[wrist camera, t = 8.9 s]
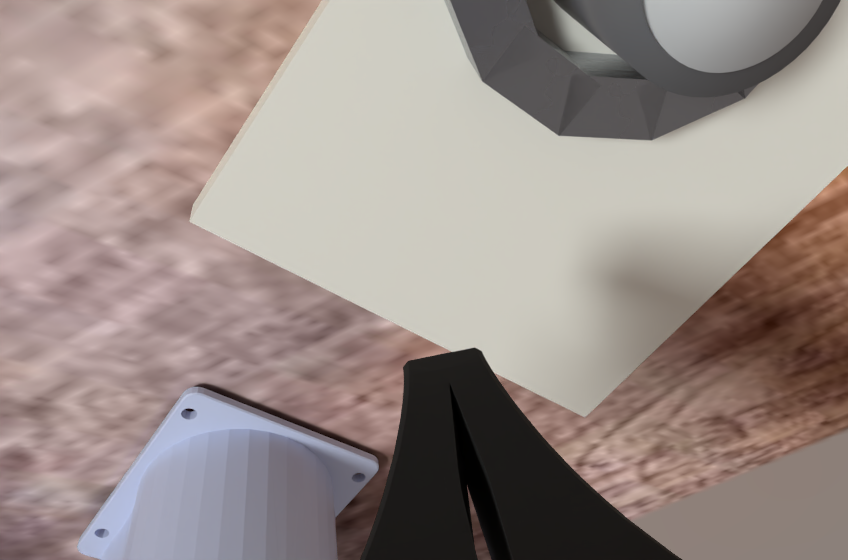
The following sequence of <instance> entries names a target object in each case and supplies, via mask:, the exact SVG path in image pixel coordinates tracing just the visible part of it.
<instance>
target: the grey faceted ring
mask: <svg viewBox="0 0 848 560" xmlns="http://www.w3.org/2000/svg"><path fill="white" fill-rule="evenodd" d="M444 1H445V3H446V6H447V8H448V11H449V13H450V16H451V18H452V21H453V23H454V26H455V28H456V31H457V33H458V36H459V38H460V41H461V43H462V46H463V48H464V50H465V53H466V56H467V58H468V59H469V61H470V62H471V64H472V66H473V67H474V69H475V71H476V72H477V74H478V76H479V77H480V79H481V80H482V82H484V83H485V84H486V85H488V86H489V87H491V88H492V89H493V90H495V91H496V92H498V93H499V94H501V95H502V96H503V97H505V98H506V99H508V100H509V101H510V102H512V103H513V104H515V105H516V106H517V107H519V108H520V109H522V110H523V111H524V112H526V113H527V114H529V115H530V116H532V117H533V118H534V119H536V120H537V121H539V122H540V123H541V124H543V125H544V126H546V127H547V128H548V129H550V130H551V131H553V132H554V133H555V134H557V135H558V136H572V137H592V138H612V139H632V140H651V141H652V140H654V139H656V138H658V137H660V136H663V135H665V134H667V133H669V132H672V131H674V130H676V129H678V128H680V127H683V126H685V125H687V124H689V123H691V122H694V121H696V120H698V119H700V118H703V117H705V116H707V115H709V114H711V113H714V112H716V111H718V110H720V109H723V108H725V107H727V106H729V105H731V104H734V103H736V102H738V101H740V100H742V99H745V98H746V97H747V96H748V95H749V94H750V92H751V91H752V90H753V89H754V88H755V87H756V86H757V85H758V84H757V85H755V86H753V87H750V88H747V89H745V90H742V91H739V92H736V93H732V94H728V95H723V96H716V97H689V96H683V95H678V94H675V93H672V92H669V91H666V90H664V89H662V88H660V87H658V86H656V85H655V84H653V83H652V82H650V81H649V80H648V79H646V78H645V77H644V76H642V75H641V74H640V73H639V72H637V71H636V70H635V69H634V68H633V67H631V66H630V65H629V64H628V63H627V62H625V61H624V60H623V59H622V58H620V57H619V56H618V55H615V54H601V53H587V52H574V51H564V50H563V49H562V48H560V47H559V46H558V45H557V44H555V43H554V42H553V41H551V40H550V39H549V38H548V37H546V36H545V35H544V34H543V33H541V32H540V31H539V30H537V29H536V28H535V26H534V23H533V20H532V17H531V14H530V11H529V8H528V5H527V2H526V0H444Z"/></svg>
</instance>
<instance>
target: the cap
mask: <svg viewBox="0 0 848 560" xmlns="http://www.w3.org/2000/svg"><path fill="white" fill-rule="evenodd" d="M553 1H554V2H555V3H556V4H557V5H558V6H559V7H560V8H561V9H562V10H564V11H565V12H566V13H567V14H568V15H570V16H571V17H572V18H573V19H575V20H576V21H577V22H578V23H579V24H581V25H582V26H583V27H584V28H585V29H587V30H588V31H589V32H590V33H591V34H593V35H594V36H595V37H596V38H598V39H599V40H600V41H601V42H602V43H604V44H605V45H606V46H607V47H608V48H610V49H611V50H612V51H613V52H614V53H616V54H617V55H618V56H619V57H620V58H622V59H623V60H624V61H625V62H627V63H628V64H629V65H630V66H631V67H633V68H634V69H635V70H636V71H637V72H639V73H640V74H641V75H642V76H644V77H645V78H646V79H648V80H649V81H650V82H652V83H653V84H655V85H656V86H658V87H660V88H662V89H664V90H666V91H669V92H672V93H675V94H678V95H683V96H689V97H716V96H723V95H728V94H732V93H736V92H739V91H742V90H745V89H747V88H750V87H753V86H755V85H757V84H759V83H761V82H763V81H765V80H767V79H768V78H770V77H771V76H773V75H775V74H776V73H778V72H779V71H781V70H782V69H783V68H785V67H786V66H787V65H789V64H790V63H791V62H793V61H794V60H795V59H796V58H797V57H798V56H799V55H800V54H801V53H802V52H803V51H804V50H806V49H807V47H808V46H809V45H810V44H811V43H812V42H813V41H814V40H815V38H816V37H817V36H818V35H819V34H820V32H821V31H822V30H823V28H824V27H825V25H826V24H827V23H828V21H829V20H830V18H831V17H832V15H833V13H834V12H835V10H836V8H837V7H838V5H839V3H840V1H841V0H553Z"/></svg>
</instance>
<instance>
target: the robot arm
mask: <svg viewBox="0 0 848 560" xmlns="http://www.w3.org/2000/svg"><path fill="white" fill-rule="evenodd" d="M403 370H404V393H403V404H402V411H401V419H400V425H399V430H398V435H397V440H396V446H395V451H394V455H393V460H392V464H391V467H390V471H389V475H388V479H387V482H386V486H385V490H384V494H383V497H382V500H381V504H380V507H379V510H378V513H377V516H376V519H375V522H374V525H373V528H372V530H371V533H370V536H369V539H368V541H367V544H366V547H365V549H364V552H363V554H362V557H361V559H360V560H477V555H476V551H475V546H474V538H473V530H472V522H471V514H470V506H469V498H468V490H467V486H468V489H469V492H470V495H471V498H472V501H473V504H474V507H475V510H476V513H477V516H478V519H479V522H480V525H481V528H482V531H483V534H484V537H485V540H486V543H487V547H488V550H489V553H490V556H491V559H492V560H682V559H681V558H679V557H678V556H676V555H675V554H673V553H672V552H671V551H669V550H668V549H667V548H665V547H664V546H663V545H661V544H660V543H659V542H657V541H656V540H655V539H654V538H652V537H651V536H650V535H648V534H647V533H646V532H644V531H643V530H642V529H640V528H639V527H638V526H636V525H635V524H634V523H633V522H631V521H630V520H629V519H627V518H626V517H625V516H624V515H623V514H622V513H620V512H619V511H618V510H617V509H616V508H615V507H613V506H612V505H611V504H610V503H609V502H608V501H606V500H605V499H604V498H603V497H602V496H601V495H600V494H599V493H597V492H596V491H595V490H594V489H593V488H592V487H591V486H590V485H589V484H588V483H587V482H586V481H584V480H583V479H582V478H581V477H580V476H579V475H578V474H577V473H576V472H575V471H574V470H573V469H572V468H571V467H570V466H569V465H568V464H567V463H566V462H565V461H564V459H563V458H562V457H561V456H560V455H559V454H558V453H557V452H556V451H555V450H554V449H553V448H552V447H551V446H550V445H549V443H548V442H547V441H546V440H545V439H544V438H543V437H542V435H541V434H540V433H539V432H538V431H537V430H536V428H535V427H534V426H533V425H532V424H531V422H530V421H529V420H528V419H527V417H526V416H525V415H524V414H523V413H522V411H521V410H520V409H519V408H518V406H517V405H516V404H515V402H514V401H513V400H512V398H511V397H510V396H509V394H508V393H507V391H506V390H505V389H504V387H503V386H502V384H501V383H500V382H499V380H498V379H497V377H496V376H495V374H494V372H493V371H492V369H491V368H490V366H489V364H488V362H487V361H486V359H485V357H484V355H483V353H482V351H481V350H479V349H477V348H470V349H465V350H460V351H455V352H450V353H445V354H440V355H435V356H430V357H425V358H420V359H415V360H411V361H408V362H407V363H406V364H405V366H404V367H403ZM187 408H190V409H194V410H195V411H192V412H190V411H186V410H184V409H187ZM378 470H379V464H378V459H377V458H376V457H375V456H374V455H372V454H369V453H367V452H364V451H362V450H359V449H357V448H354V447H352V446H349V445H347V444H344V443H342V442H339V441H337V440H334V439H332V438H329V437H327V436H324V435H321V434H319V433H316V432H314V431H311V430H309V429H306V428H304V427H301V426H299V425H296V424H294V423H291V422H289V421H286V420H284V419H281V418H279V417H276V416H273V415H271V414H268V413H266V412H263V411H261V410H258V409H256V408H253V407H251V406H248V405H246V404H243V403H241V402H238V401H236V400H233V399H231V398H228V397H225V396H223V395H220V394H218V393H215V392H213V391H210V390H208V389H205V388H202V387H191V388H189V389H187V390H186V391H184V392H183V394H182V395H181V397H180V398H179V399H178V401H177V402H176V404H175V405H174V406H173V408H172V409H171V411H170V412H169V413H168V415H167V416H166V418H165V419H164V420H163V422H162V423H161V425H160V426H159V427H158V429H157V430H156V432H155V433H154V434H153V436H152V437H151V439H150V440H149V441H148V443H147V444H146V446H145V447H144V448H143V450H142V451H141V453H140V454H139V455H138V457H137V458H136V460H135V461H134V462H133V464H132V465H131V467H130V468H129V469H128V471H127V472H126V474H125V475H124V476H123V478H122V479H121V481H120V482H119V483H118V485H117V486H116V488H115V489H114V490H113V492H112V493H111V495H110V496H109V497H108V499H107V500H106V502H105V503H104V504H103V506H102V507H101V509H100V510H99V511H98V513H97V514H96V516H95V517H94V518H93V520H92V521H91V523H90V524H89V525H88V527H87V528H86V530H85V531H84V532H83V534H82V535H81V537H80V539H79V542H78V546H77V548H78V551H80V552H81V553H82V554H84V555H87V556H90V557H94V558H98V559H101V560H338V557H337V541H336V525H335V518H336V517H337V515H338V514H339V513H340V512H341V511H342V510H343V509H344V508H345V507H346V506H347V505H348V503H349V502H350V501H351V500H352V499H353V498H354V497H355V496H356V495H357V494H358V493H359V492H360V490H361V489H362V488H363V487H364V486H365V485H366V484H367V483H368V482H369V481H370V480H371V478H372V477H373V476H374V475H375V474H376V473H377V471H378ZM357 473H362V474H358V475H356V474H357Z"/></svg>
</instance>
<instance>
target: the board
mask: <svg viewBox="0 0 848 560" xmlns="http://www.w3.org/2000/svg"><path fill="white" fill-rule="evenodd" d="M526 2H527V5H528V8H529V11H530V14H531V17H532V20H533V23H534V26H535V28H536V29H537V30H539V31H540V32H541V33H543V34H544V35H545V36H546V37H548V38H549V39H550V40H551V41H553V42H554V43H555V44H557V45H558V46H559V47H560V48H562V49H563V50H564V51H574V52H587V53H601V54H615V55H617V54H616V53H614V52H613V51H612V50H611V49H610V48H608V47H607V46H606V45H605V44H604V43H602V42H601V41H600V40H599V39H598V38H596V37H595V36H594V35H593V34H591V33H590V32H589V31H588V30H587V29H585V28H584V27H583V26H582V25H581V24H579V23H578V22H577V21H576V20H575V19H573V18H572V17H571V16H570V15H568V14H567V13H566V12H565V11H564V10H562V9H561V8H560V7H559V6H558V5H557V4H556V3H555V2H554V1H553V0H526ZM847 166H848V0H841V1H840V3H839V5H838V7H837V8H836V10H835V12H834V13H833V15H832V17H831V18H830V20H829V21H828V23H827V24H826V25H825V27H824V28H823V30H822V31H821V32H820V34H819V35H818V36H817V37H816V38H815V40H814V41H813V42H812V43H811V44H810V45H809V46H808V47H807V49H806V50H804V51H803V52H802V53H801V54H800V55H799V56H798V57H797V58H796V59H795V60H794V61H793V62H791V63H790V64H789V65H787V66H786V67H785V68H783V69H782V70H781V71H779V72H778V73H776V74H775V75H773V76H771V77H770V78H768V79H767V80H765V81H763V82H761V83H759V84H758V85H757V86H756V87H755V88H754V89H753V90H752V91H751V92H750V94H749V95H748V96H747V97H746V98H745V99H742V100H740V101H738V102H736V103H734V104H731V105H729V106H727V107H725V108H723V109H720V110H718V111H716V112H714V113H711V114H709V115H707V116H705V117H703V118H700V119H698V120H696V121H694V122H691V123H689V124H687V125H685V126H683V127H680V128H678V129H676V130H674V131H672V132H669V133H667V134H665V135H663V136H660V137H658V138H656V139H654V140H652V141H651V140H632V139H612V138H592V137H572V136H558V135H557V134H555V133H554V132H553V131H551V130H550V129H548V128H547V127H546V126H544V125H543V124H541V123H540V122H539V121H537V120H536V119H534V118H533V117H532V116H530V115H529V114H527V113H526V112H524V111H523V110H522V109H520V108H519V107H517V106H516V105H515V104H513V103H512V102H510V101H509V100H508V99H506V98H505V97H503V96H502V95H501V94H499V93H498V92H496V91H495V90H493V89H492V88H491V87H489V86H488V85H486V84H485V83H484V82H482V80H481V79H480V77H479V76H478V74H477V72H476V71H475V69H474V67H473V66H472V64H471V62H470V61H469V59H468V58H467V56H466V53H465V50H464V48H463V46H462V43H461V41H460V38H459V36H458V33H457V31H456V28H455V26H454V23H453V21H452V18H451V16H450V13H449V11H448V8H447V6H446V3H445V1H444V0H322V1H321V3H320V4H319V6H318V7H317V9H316V11H315V12H314V14H313V15H312V17H311V19H310V20H309V22H308V23H307V25H306V26H305V28H304V30H303V31H302V33H301V34H300V36H299V38H298V39H297V41H296V42H295V44H294V45H293V47H292V49H291V50H290V52H289V53H288V55H287V57H286V58H285V60H284V61H283V63H282V65H281V66H280V68H279V69H278V71H277V72H276V74H275V76H274V77H273V79H272V80H271V82H270V84H269V85H268V87H267V88H266V90H265V91H264V93H263V95H262V96H261V98H260V99H259V101H258V103H257V104H256V106H255V107H254V109H253V110H252V112H251V114H250V115H249V117H248V118H247V120H246V122H245V123H244V125H243V126H242V128H241V130H240V131H239V133H238V134H237V136H236V137H235V139H234V141H233V142H232V144H231V145H230V147H229V149H228V150H227V152H226V153H225V155H224V156H223V158H222V160H221V161H220V163H219V164H218V166H217V168H216V169H215V171H214V172H213V174H212V175H211V177H210V179H209V180H208V182H207V183H206V185H205V187H204V188H203V190H202V191H201V193H200V195H199V196H198V198H197V199H196V201H195V202H194V204H193V207H192V212H191V216H190V221H189V222H191V223H193V224H195V225H197V226H199V227H201V228H203V229H205V230H207V231H209V232H211V233H213V234H215V235H217V236H219V237H221V238H223V239H225V240H227V241H229V242H231V243H233V244H235V245H237V246H239V247H241V248H243V249H245V250H247V251H250V252H252V253H254V254H256V255H258V256H260V257H262V258H264V259H266V260H268V261H270V262H272V263H274V264H276V265H278V266H280V267H282V268H284V269H286V270H288V271H290V272H292V273H294V274H296V275H298V276H300V277H302V278H304V279H306V280H308V281H310V282H312V283H314V284H316V285H318V286H320V287H322V288H324V289H326V290H328V291H330V292H332V293H334V294H336V295H338V296H340V297H342V298H344V299H346V300H349V301H351V302H353V303H355V304H357V305H359V306H361V307H363V308H365V309H367V310H369V311H371V312H373V313H375V314H377V315H379V316H381V317H383V318H385V319H387V320H389V321H391V322H393V323H395V324H397V325H399V326H401V327H403V328H405V329H407V330H409V331H411V332H413V333H415V334H417V335H419V336H421V337H423V338H425V339H427V340H429V341H431V342H433V343H435V344H437V345H439V346H441V347H443V348H446V349H448V350H450V351H452V352H455V351H460V350H465V349H470V348H477V349H479V350H481V351H482V353H483V355H484V357H485V359H486V361H487V362H488V364H489V366H490V368H491V369H492V371H493V372H494V373H496V374H498V375H500V376H502V377H504V378H506V379H508V380H510V381H512V382H514V383H516V384H518V385H520V386H522V387H524V388H526V389H528V390H530V391H532V392H534V393H536V394H538V395H540V396H543V397H545V398H547V399H549V400H551V401H553V402H555V403H557V404H559V405H561V406H563V407H565V408H567V409H569V410H571V411H573V412H575V413H577V414H579V415H581V416H583V417H586V416H587V415H588V414H589V413H590V412H591V411H592V410H593V409H595V408H596V407H597V406H598V405H599V404H600V403H601V402H602V401H603V400H604V399H605V398H606V397H607V396H608V395H609V394H610V393H611V392H612V391H613V390H614V389H615V388H616V387H617V386H619V385H620V384H621V383H622V382H623V381H624V380H625V379H626V378H627V377H628V376H629V375H630V374H631V373H632V372H633V371H634V370H635V369H636V368H637V367H638V366H639V365H640V364H641V363H642V362H644V361H645V360H646V359H647V358H648V357H649V356H650V355H651V354H652V353H653V352H654V351H655V350H656V349H657V348H658V347H659V346H660V345H661V344H662V343H663V342H664V341H665V340H666V339H668V338H669V337H670V336H671V335H672V334H673V333H674V332H675V331H676V330H677V329H678V328H679V327H680V326H681V325H682V324H683V323H684V322H685V321H686V320H687V319H688V318H689V317H690V316H691V315H693V314H694V313H695V312H696V311H697V310H698V309H699V308H700V307H701V306H702V305H703V304H704V303H705V302H706V301H707V300H708V299H709V298H710V297H711V296H712V295H713V294H714V293H715V292H717V291H718V290H719V289H720V288H721V287H722V286H723V285H724V284H725V283H726V282H727V281H728V280H729V279H730V278H731V277H732V276H733V275H734V274H735V273H736V272H737V271H738V270H739V269H741V268H742V267H743V266H744V265H745V264H746V263H747V262H748V261H749V260H750V259H751V258H752V257H753V256H754V255H755V254H756V253H757V252H758V251H759V250H760V249H761V248H762V247H763V246H764V245H766V244H767V243H768V242H769V241H770V240H771V239H772V238H773V237H774V236H775V235H776V234H777V233H778V232H779V231H780V230H781V229H782V228H783V227H784V226H785V225H786V224H787V223H788V222H790V221H791V220H792V219H793V218H794V217H795V216H796V215H797V214H798V213H799V212H800V211H801V210H802V209H803V208H804V207H805V206H806V205H807V204H808V203H809V202H810V201H811V200H812V199H813V198H815V197H816V196H817V195H818V194H819V193H820V192H821V191H822V190H823V189H824V188H825V187H826V186H827V185H828V184H829V183H830V182H831V181H832V180H833V179H834V178H835V177H836V176H837V175H839V174H840V173H841V172H842V171H843V170H844V169H845V168H846V167H847Z"/></svg>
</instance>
